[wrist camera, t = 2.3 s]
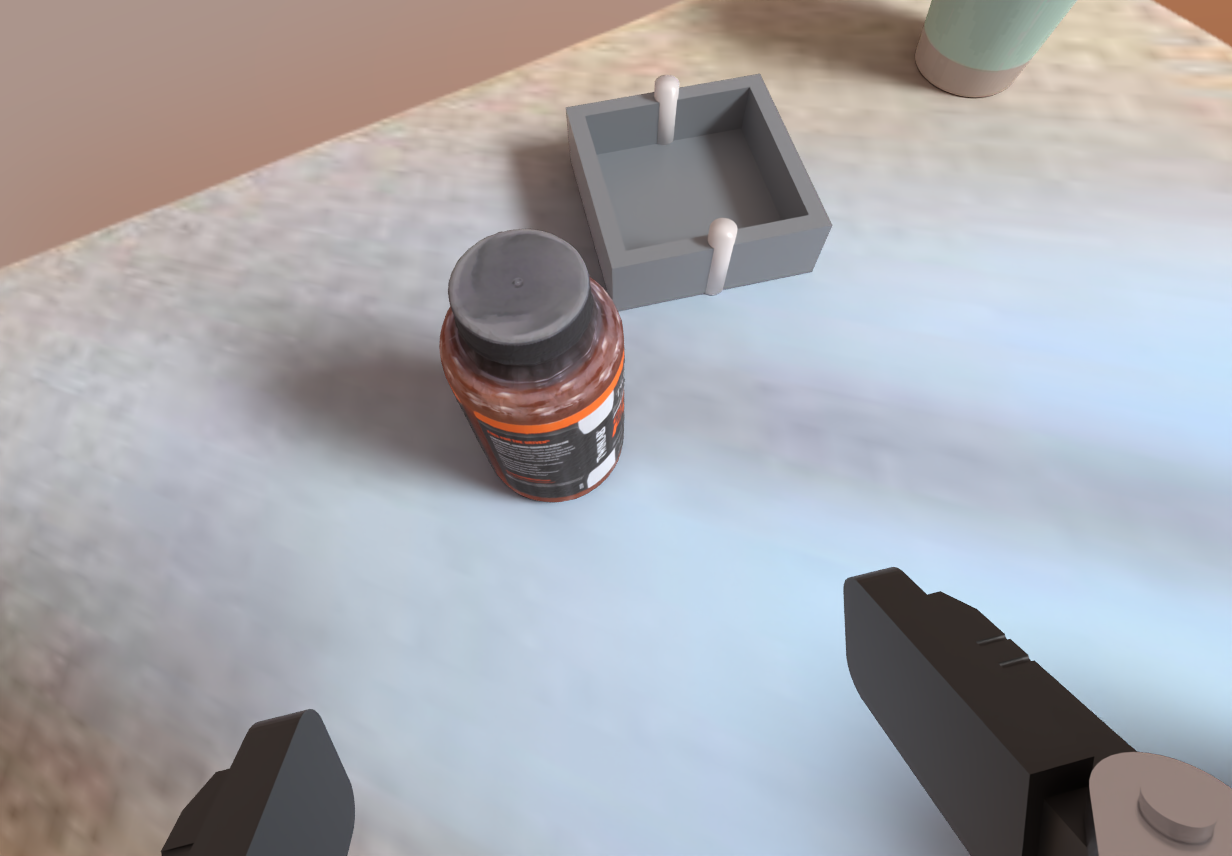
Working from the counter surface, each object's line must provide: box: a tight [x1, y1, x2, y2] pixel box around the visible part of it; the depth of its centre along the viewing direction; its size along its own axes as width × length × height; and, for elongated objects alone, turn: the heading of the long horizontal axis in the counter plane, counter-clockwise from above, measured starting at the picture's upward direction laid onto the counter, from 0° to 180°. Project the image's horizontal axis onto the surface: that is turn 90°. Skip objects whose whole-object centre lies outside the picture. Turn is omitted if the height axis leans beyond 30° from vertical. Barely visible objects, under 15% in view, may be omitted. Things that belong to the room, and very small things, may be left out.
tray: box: [566, 74, 832, 311], centre depth 31 cm, size 10×10×4 cm
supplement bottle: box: [439, 229, 625, 502], centre depth 23 cm, size 6×6×11 cm
